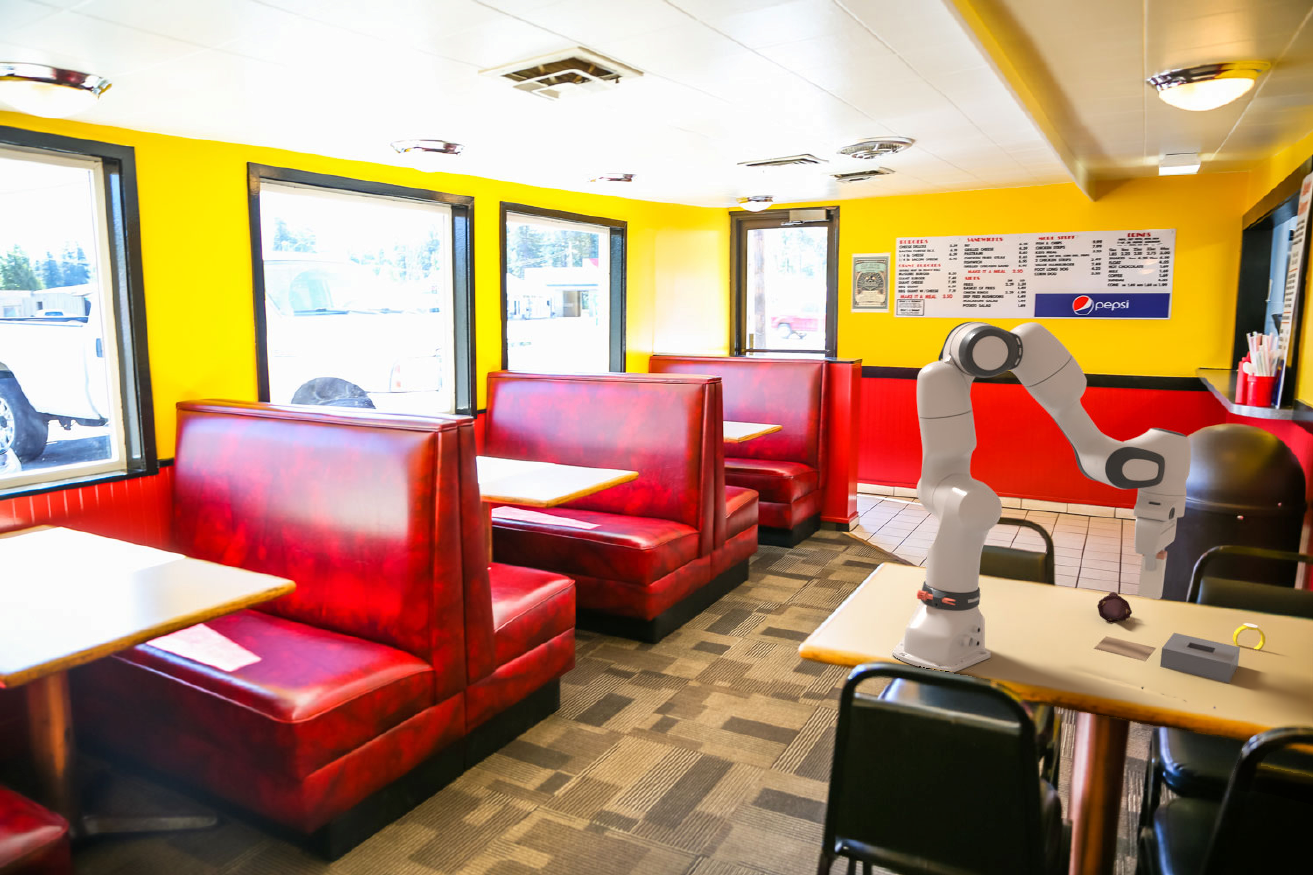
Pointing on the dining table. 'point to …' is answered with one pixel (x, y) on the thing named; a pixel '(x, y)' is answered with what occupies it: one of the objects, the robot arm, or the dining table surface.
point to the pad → (1125, 648)
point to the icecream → (1114, 608)
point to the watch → (1250, 627)
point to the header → (1200, 657)
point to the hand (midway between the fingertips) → (1152, 568)
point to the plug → (1152, 577)
